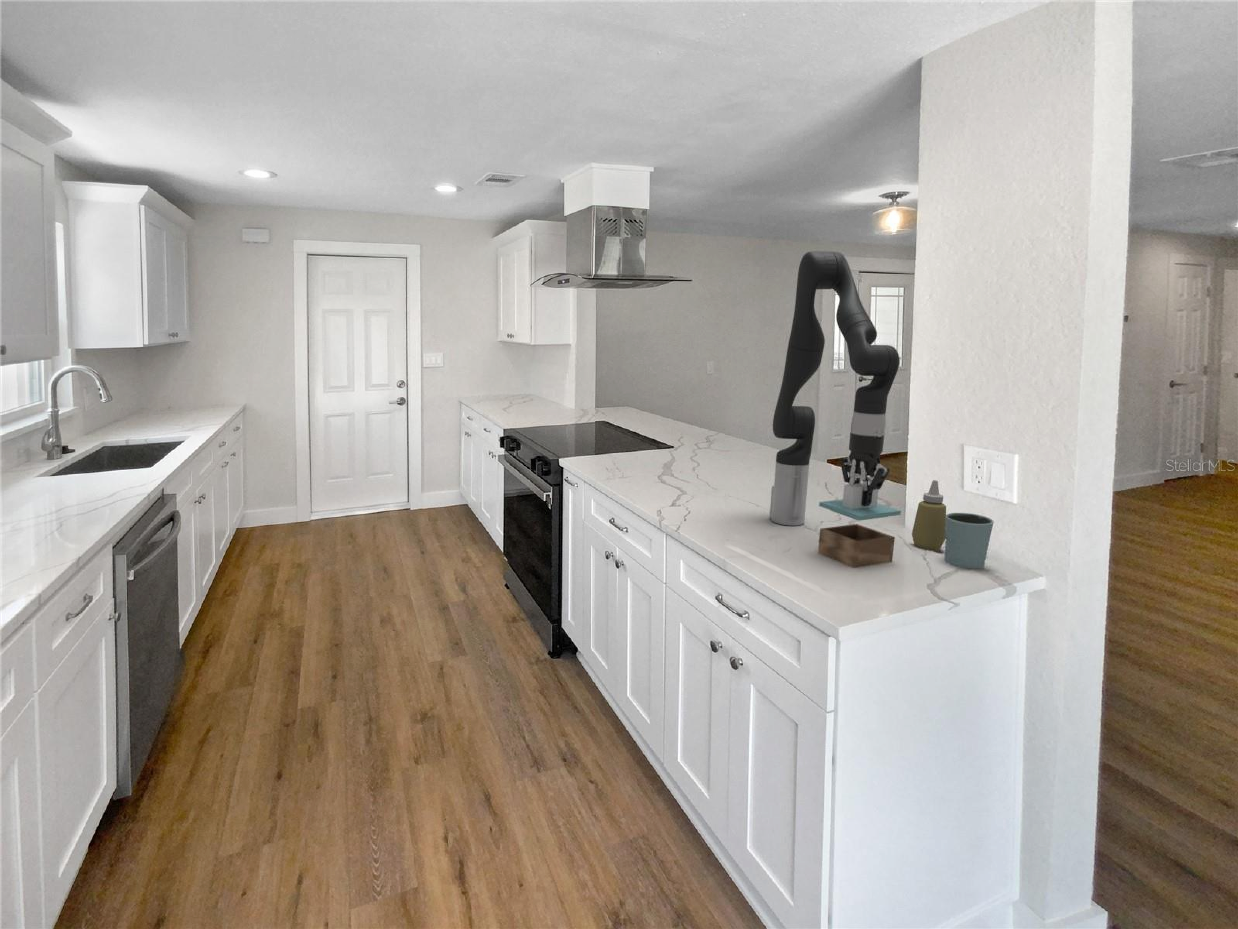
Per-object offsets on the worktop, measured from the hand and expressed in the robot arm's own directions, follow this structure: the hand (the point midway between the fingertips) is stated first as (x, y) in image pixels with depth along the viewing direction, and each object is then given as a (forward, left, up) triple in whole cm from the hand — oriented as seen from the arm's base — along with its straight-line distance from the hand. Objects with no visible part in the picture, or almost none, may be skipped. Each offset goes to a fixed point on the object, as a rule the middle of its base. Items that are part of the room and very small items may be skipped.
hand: (859, 503), depth 170 cm
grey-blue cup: (+13, +22, -14) cm, 29 cm away
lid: (0, 0, -3) cm, 3 cm away
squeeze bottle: (0, +25, -14) cm, 29 cm away
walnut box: (0, 0, -14) cm, 14 cm away
